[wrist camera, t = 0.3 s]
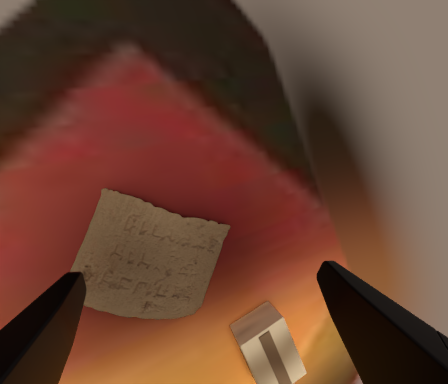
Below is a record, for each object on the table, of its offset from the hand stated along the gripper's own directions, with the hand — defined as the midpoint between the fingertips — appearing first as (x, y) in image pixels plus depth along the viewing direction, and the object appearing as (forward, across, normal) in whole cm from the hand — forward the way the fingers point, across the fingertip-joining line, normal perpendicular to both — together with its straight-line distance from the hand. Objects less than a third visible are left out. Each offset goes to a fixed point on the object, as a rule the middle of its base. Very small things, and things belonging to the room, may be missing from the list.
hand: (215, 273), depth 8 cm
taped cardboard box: (+7, -8, +19) cm, 22 cm away
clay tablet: (+11, +3, +10) cm, 16 cm away
